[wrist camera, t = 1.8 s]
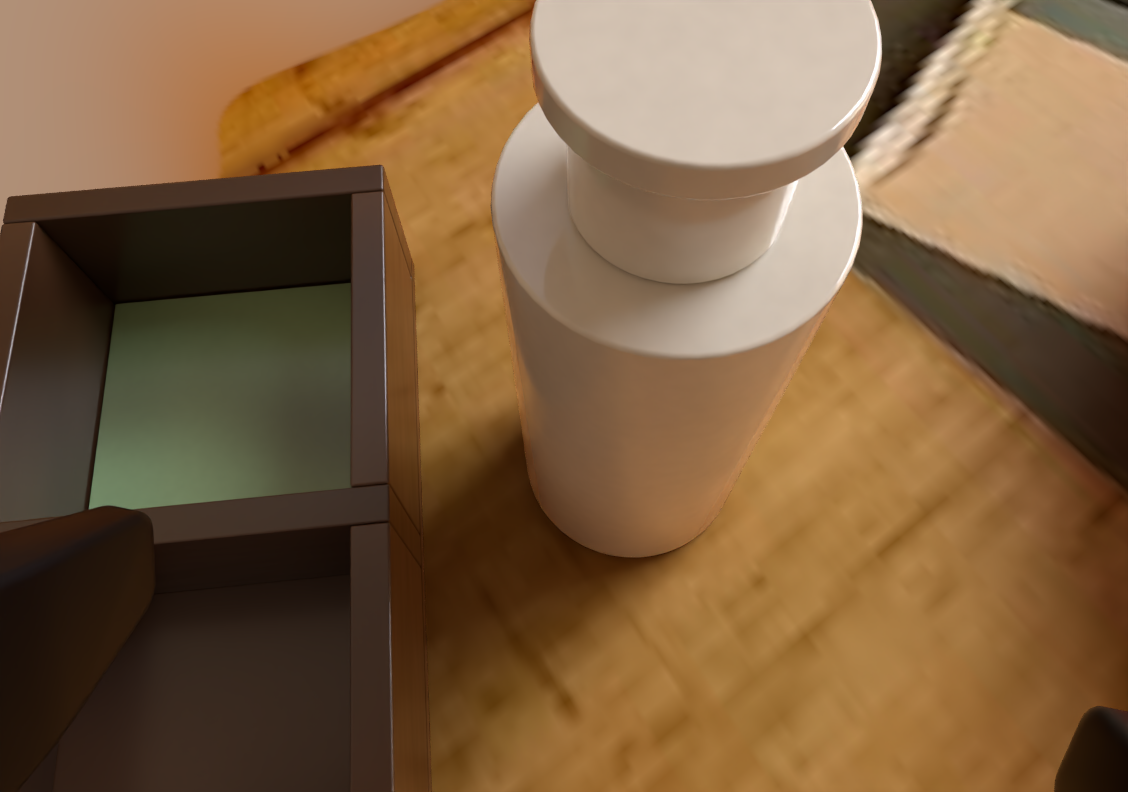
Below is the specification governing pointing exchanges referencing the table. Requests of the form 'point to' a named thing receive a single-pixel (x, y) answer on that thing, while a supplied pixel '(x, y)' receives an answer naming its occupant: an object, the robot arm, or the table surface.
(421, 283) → the table surface
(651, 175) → the white bottle
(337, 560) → the organiser
